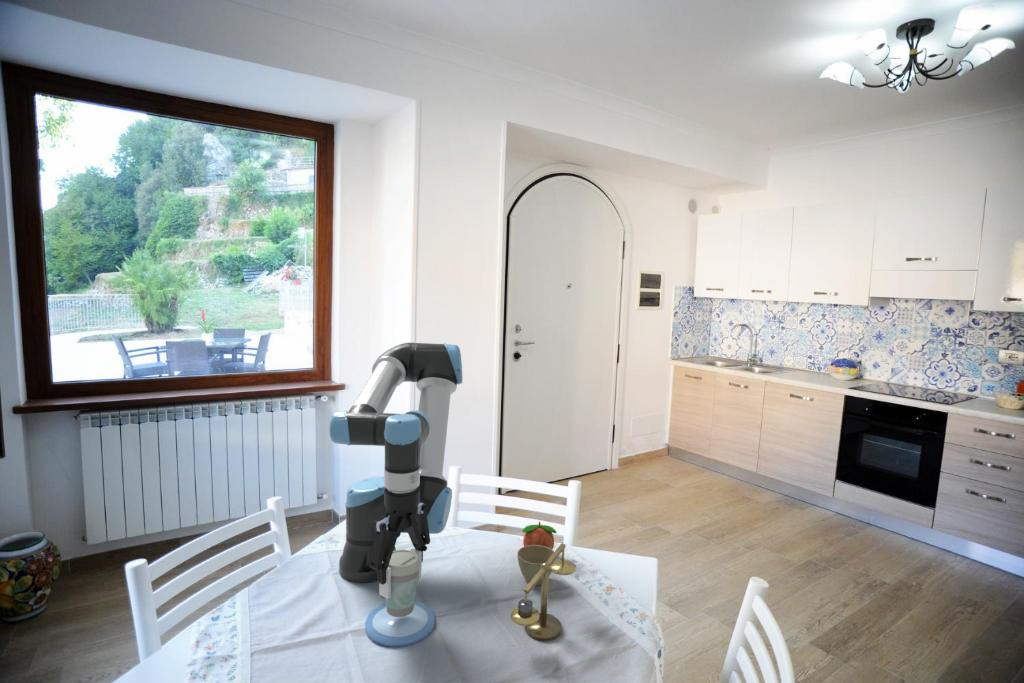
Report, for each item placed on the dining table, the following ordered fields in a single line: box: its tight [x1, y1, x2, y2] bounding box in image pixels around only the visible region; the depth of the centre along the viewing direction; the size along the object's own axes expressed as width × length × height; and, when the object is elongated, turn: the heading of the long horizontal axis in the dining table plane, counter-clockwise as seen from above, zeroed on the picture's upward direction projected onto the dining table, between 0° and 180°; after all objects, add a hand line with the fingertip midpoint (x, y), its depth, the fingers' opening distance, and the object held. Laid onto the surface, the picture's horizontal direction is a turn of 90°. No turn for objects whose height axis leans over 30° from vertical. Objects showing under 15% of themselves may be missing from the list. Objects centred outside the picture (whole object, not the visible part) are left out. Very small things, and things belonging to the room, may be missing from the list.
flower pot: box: [516, 545, 555, 586], centre depth 143 cm, size 10×10×7 cm
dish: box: [364, 601, 435, 648], centre depth 123 cm, size 15×15×1 cm
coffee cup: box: [382, 549, 422, 617], centre depth 122 cm, size 8×8×12 cm
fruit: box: [521, 521, 557, 551], centre depth 155 cm, size 9×10×10 cm
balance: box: [510, 542, 577, 642], centre depth 123 cm, size 8×21×17 cm, turn 145°
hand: (400, 586), depth 122 cm, fingers closed on coffee cup, 8 cm apart
